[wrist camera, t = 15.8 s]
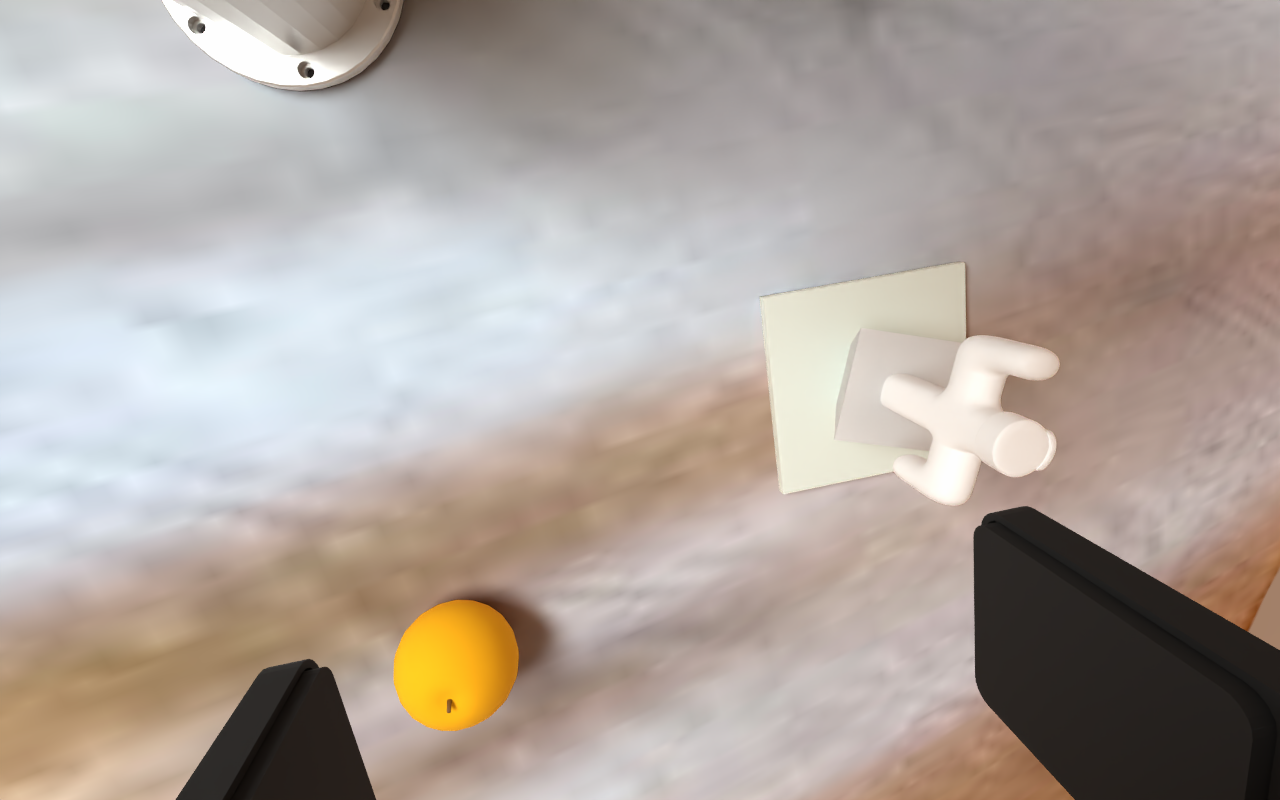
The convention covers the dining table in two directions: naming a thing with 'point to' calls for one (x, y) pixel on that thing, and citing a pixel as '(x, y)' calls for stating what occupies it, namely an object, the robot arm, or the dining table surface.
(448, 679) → the apple
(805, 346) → the cream board
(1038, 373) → the figurine
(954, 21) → the dining table surface
